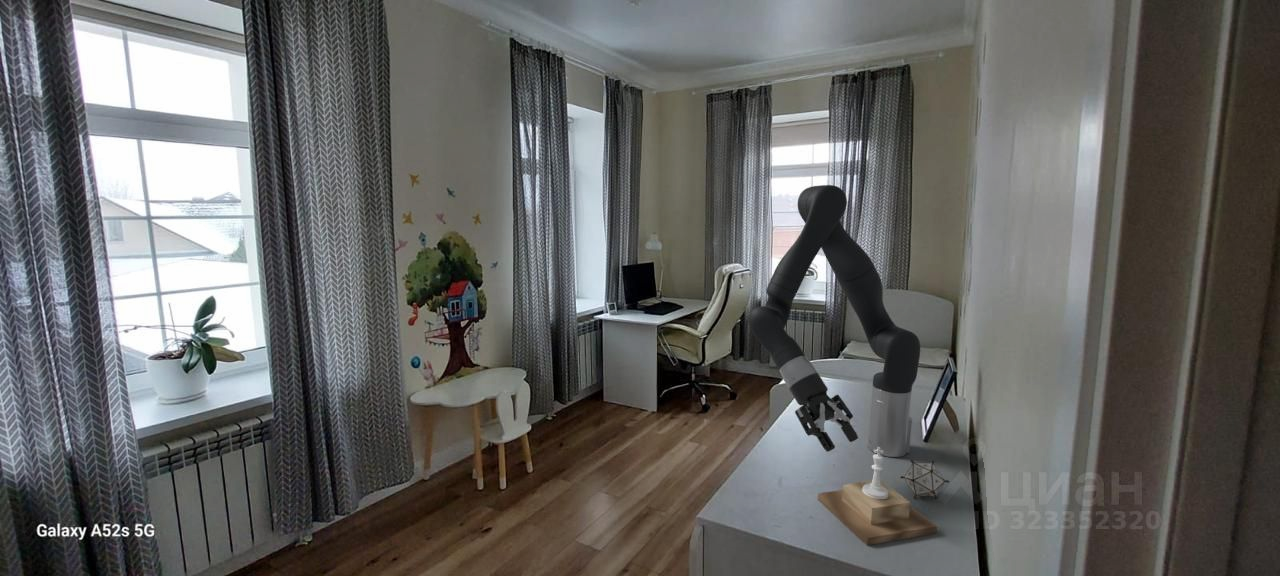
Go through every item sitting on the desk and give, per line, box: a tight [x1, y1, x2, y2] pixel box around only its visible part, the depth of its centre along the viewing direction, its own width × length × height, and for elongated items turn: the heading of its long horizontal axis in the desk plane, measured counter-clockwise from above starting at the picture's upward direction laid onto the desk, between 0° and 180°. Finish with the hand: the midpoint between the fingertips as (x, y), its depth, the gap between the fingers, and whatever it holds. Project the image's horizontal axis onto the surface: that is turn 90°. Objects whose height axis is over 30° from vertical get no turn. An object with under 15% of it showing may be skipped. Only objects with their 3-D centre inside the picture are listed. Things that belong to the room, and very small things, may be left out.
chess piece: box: [862, 447, 888, 499], centre depth 106 cm, size 5×5×10 cm
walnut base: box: [817, 480, 938, 546], centre depth 107 cm, size 16×16×5 cm
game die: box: [899, 459, 950, 500], centre depth 115 cm, size 9×8×10 cm
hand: (843, 445), depth 112 cm, fingers open, 8 cm apart
